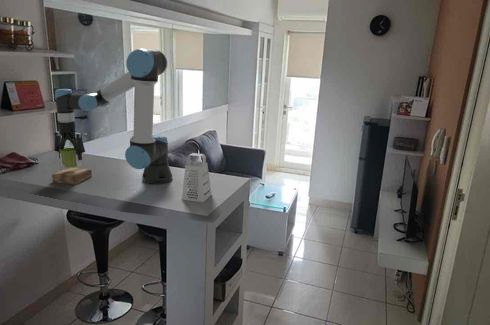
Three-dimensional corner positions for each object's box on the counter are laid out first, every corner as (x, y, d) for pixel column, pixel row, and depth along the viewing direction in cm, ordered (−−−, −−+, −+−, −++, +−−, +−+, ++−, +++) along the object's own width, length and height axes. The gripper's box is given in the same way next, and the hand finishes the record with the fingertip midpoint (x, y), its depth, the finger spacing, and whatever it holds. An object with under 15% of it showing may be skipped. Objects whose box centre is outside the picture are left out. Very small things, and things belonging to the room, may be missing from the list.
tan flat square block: (91, 176, 195) (91, 168, 194) (75, 184, 183) (75, 176, 182) (70, 174, 198) (69, 166, 196) (52, 182, 185) (51, 173, 184)
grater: (203, 202, 165) (203, 158, 159) (181, 199, 167) (180, 156, 162) (211, 194, 174) (211, 152, 169) (191, 191, 177) (190, 150, 172)
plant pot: (72, 162, 194) (71, 146, 192) (85, 165, 190) (84, 148, 188) (57, 167, 186) (55, 150, 184) (70, 169, 182) (68, 152, 180)
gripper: (90, 121, 183) (94, 165, 190) (53, 118, 188) (58, 162, 194) (80, 123, 176) (85, 169, 183) (42, 121, 181) (48, 165, 187)
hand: (71, 165), depth 188 cm, fingers closed on plant pot, 8 cm apart
